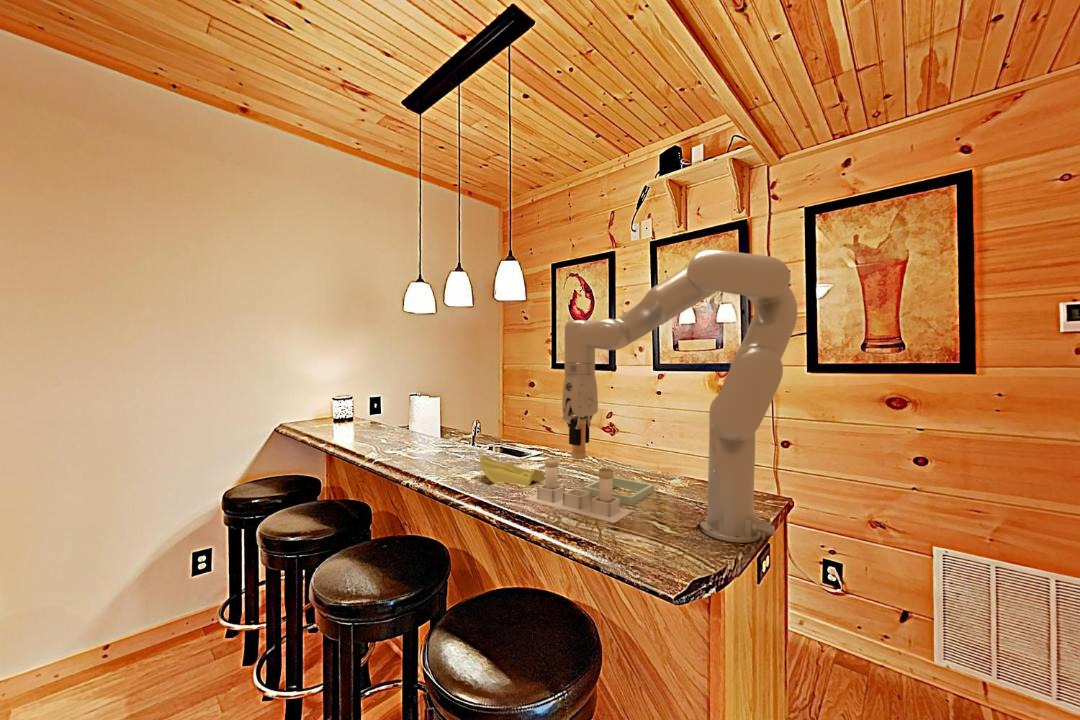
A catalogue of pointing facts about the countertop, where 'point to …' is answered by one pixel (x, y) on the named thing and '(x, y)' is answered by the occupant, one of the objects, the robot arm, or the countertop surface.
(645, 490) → the tray
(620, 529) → the countertop surface
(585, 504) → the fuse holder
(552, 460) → the cylinder
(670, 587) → the countertop surface
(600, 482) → the cylinder
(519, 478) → the plastic component
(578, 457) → the cylinder
